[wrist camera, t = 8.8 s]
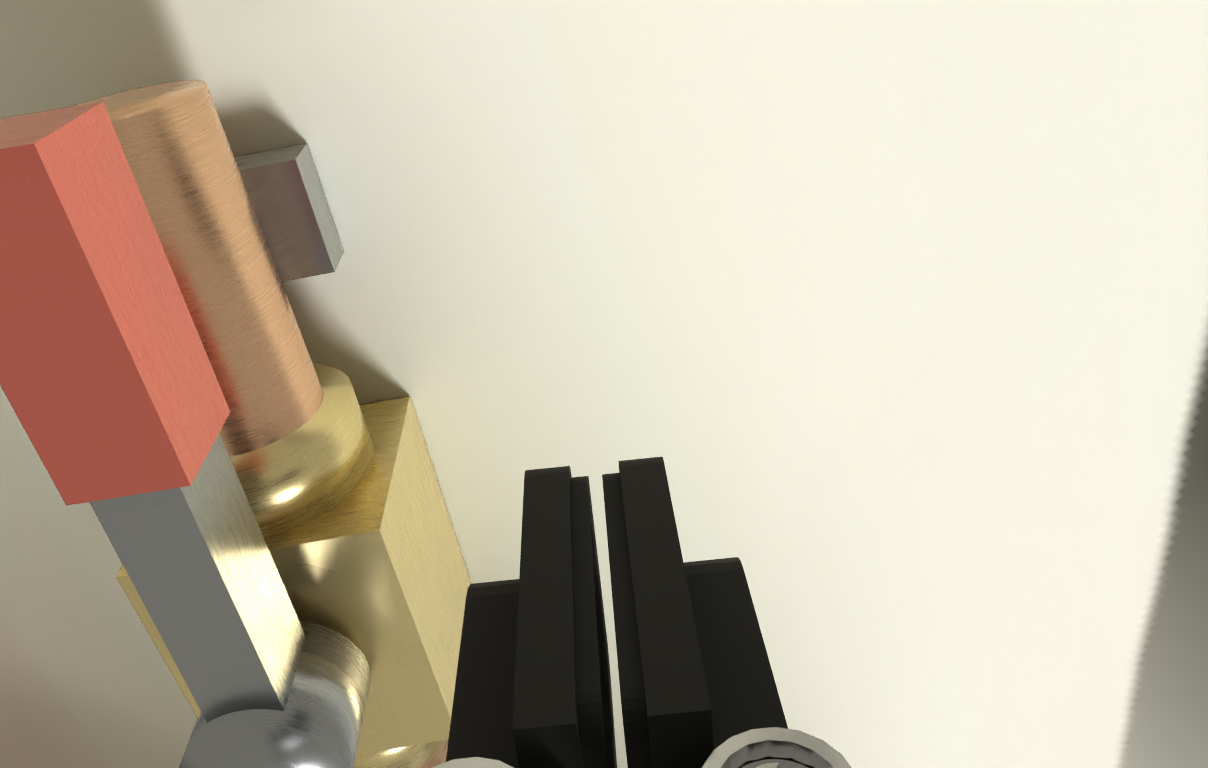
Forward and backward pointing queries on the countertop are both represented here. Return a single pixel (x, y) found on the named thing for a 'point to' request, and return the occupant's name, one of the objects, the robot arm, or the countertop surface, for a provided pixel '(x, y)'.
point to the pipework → (304, 418)
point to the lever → (155, 448)
